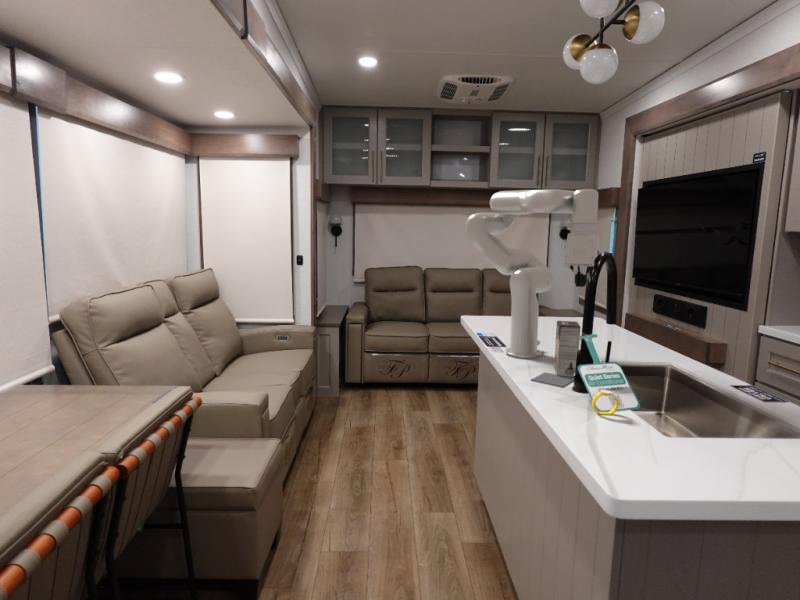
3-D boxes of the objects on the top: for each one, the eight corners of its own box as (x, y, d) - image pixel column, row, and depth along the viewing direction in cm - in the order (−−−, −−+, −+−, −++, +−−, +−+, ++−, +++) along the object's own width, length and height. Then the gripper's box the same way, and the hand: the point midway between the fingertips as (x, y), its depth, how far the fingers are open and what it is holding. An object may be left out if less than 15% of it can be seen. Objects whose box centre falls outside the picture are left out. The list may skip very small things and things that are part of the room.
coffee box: (553, 368, 162) (556, 320, 160) (573, 369, 161) (577, 321, 159) (556, 375, 153) (559, 324, 151) (577, 377, 152) (581, 326, 150)
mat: (544, 373, 157) (544, 372, 157) (576, 379, 151) (576, 378, 151) (530, 380, 150) (530, 379, 150) (562, 387, 144) (562, 386, 143)
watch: (613, 413, 125) (617, 390, 124) (617, 417, 122) (621, 394, 121) (589, 411, 125) (592, 388, 124) (593, 415, 122) (596, 392, 121)
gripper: (555, 229, 159) (553, 285, 162) (604, 229, 150) (600, 289, 152) (565, 228, 165) (562, 283, 168) (612, 229, 155) (608, 287, 158)
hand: (580, 286), depth 160 cm, fingers closed
